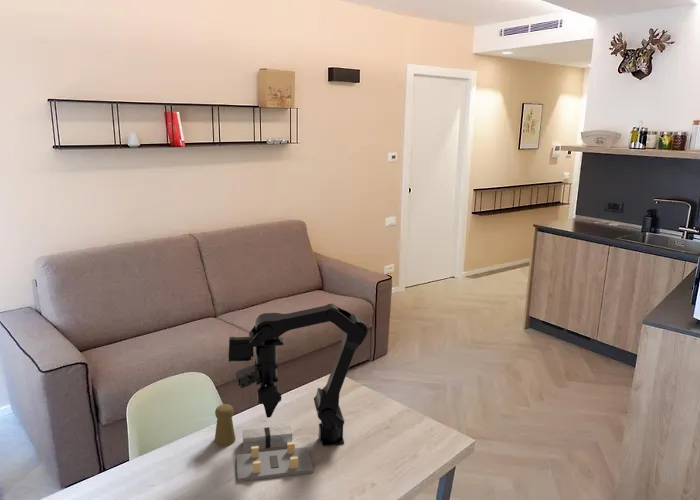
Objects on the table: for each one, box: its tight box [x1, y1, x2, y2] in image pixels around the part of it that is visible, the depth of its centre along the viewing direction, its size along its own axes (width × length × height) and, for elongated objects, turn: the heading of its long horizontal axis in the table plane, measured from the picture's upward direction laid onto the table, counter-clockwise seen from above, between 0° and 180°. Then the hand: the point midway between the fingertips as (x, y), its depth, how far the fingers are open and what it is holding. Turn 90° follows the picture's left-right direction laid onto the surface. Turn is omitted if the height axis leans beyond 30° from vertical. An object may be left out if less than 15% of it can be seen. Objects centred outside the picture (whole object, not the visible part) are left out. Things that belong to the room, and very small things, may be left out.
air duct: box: [242, 425, 293, 451], centre depth 154 cm, size 14×4×4 cm, turn 104°
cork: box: [214, 403, 236, 447], centre depth 154 cm, size 6×6×11 cm
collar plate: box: [236, 441, 314, 483], centre depth 145 cm, size 20×10×4 cm, turn 104°
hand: (267, 408), depth 152 cm, fingers open, 9 cm apart
